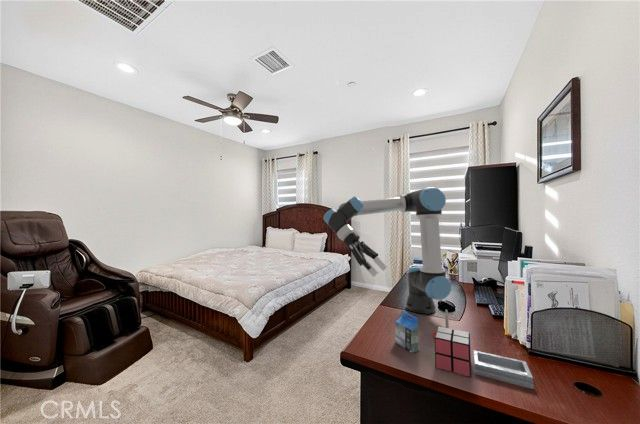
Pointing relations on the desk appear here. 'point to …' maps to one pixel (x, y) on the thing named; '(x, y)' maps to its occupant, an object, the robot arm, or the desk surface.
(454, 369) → the puzzle cube
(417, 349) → the label tape box
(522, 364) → the rail tray
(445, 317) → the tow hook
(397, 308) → the desk surface
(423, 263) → the robot arm
